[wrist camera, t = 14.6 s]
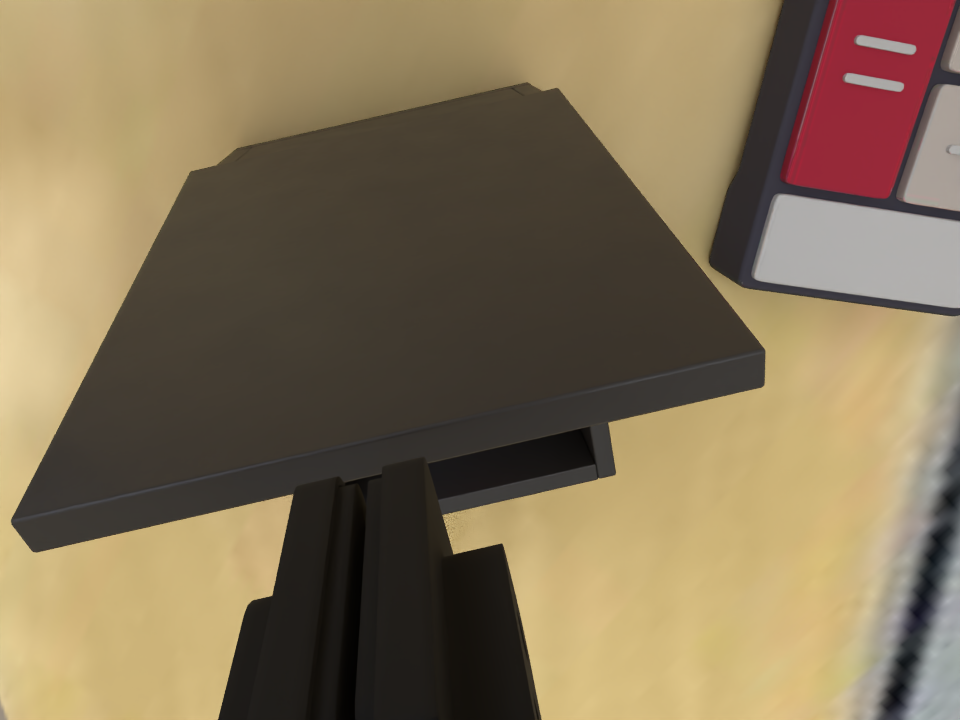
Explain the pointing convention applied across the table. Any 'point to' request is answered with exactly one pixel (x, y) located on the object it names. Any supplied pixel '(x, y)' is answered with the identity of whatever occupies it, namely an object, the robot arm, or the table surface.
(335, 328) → the case lid
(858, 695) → the table surface
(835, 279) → the calculator
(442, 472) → the case
